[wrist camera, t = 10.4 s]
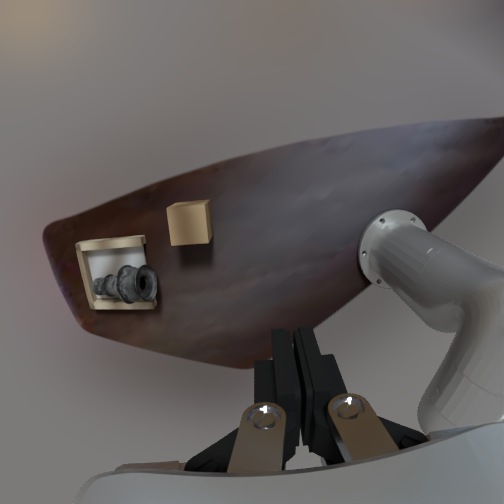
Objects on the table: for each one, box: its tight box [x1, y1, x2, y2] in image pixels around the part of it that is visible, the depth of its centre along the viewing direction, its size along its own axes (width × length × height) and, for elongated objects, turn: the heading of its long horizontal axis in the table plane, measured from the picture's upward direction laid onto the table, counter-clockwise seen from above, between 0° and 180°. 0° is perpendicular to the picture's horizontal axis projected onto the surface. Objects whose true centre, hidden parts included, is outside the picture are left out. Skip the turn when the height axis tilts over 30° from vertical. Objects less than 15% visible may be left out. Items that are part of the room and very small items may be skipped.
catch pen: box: [75, 235, 157, 309], centre depth 44 cm, size 12×11×2 cm
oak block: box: [167, 200, 213, 246], centre depth 41 cm, size 5×5×5 cm
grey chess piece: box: [92, 265, 157, 304], centre depth 43 cm, size 6×6×12 cm
